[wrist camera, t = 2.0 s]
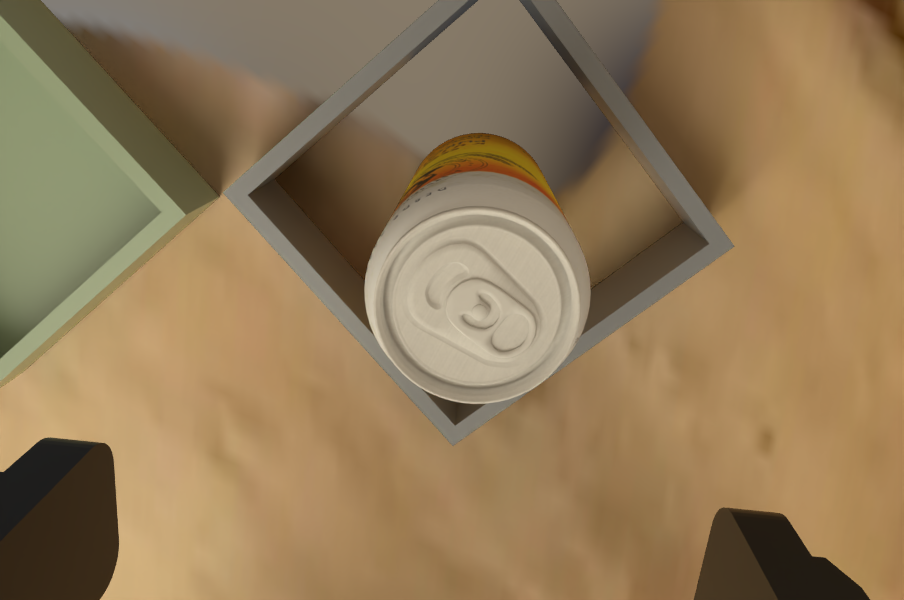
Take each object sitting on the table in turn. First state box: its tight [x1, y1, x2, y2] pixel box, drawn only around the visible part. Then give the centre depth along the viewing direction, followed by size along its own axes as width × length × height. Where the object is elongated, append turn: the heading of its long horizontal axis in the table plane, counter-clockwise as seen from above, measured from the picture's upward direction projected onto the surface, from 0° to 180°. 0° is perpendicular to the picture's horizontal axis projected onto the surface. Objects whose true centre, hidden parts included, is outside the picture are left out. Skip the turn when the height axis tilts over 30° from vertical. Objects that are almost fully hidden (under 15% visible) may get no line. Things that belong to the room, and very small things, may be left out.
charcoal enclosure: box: [223, 0, 734, 446], centre depth 31 cm, size 14×14×4 cm
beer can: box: [364, 133, 591, 404], centre depth 26 cm, size 6×6×15 cm
